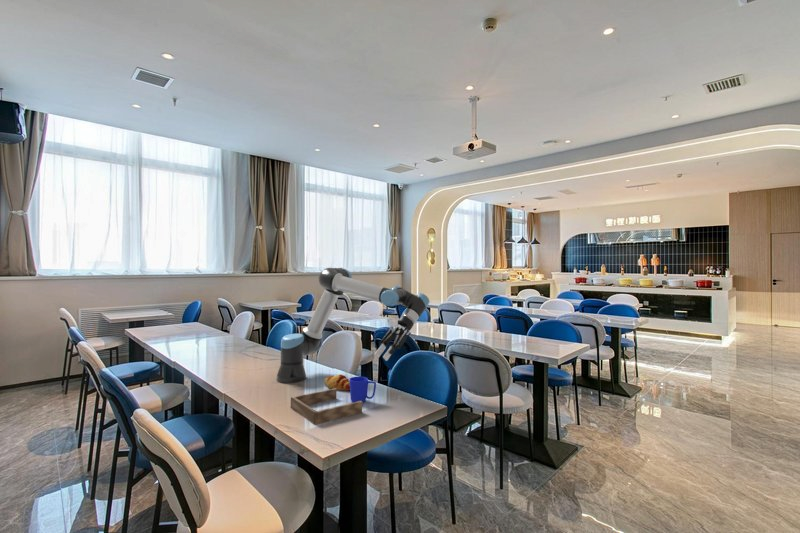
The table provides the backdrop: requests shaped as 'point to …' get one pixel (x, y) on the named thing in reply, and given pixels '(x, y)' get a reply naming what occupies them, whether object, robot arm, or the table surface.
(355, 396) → the mug
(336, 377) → the croissant
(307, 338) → the robot arm
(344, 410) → the box
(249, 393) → the table surface
